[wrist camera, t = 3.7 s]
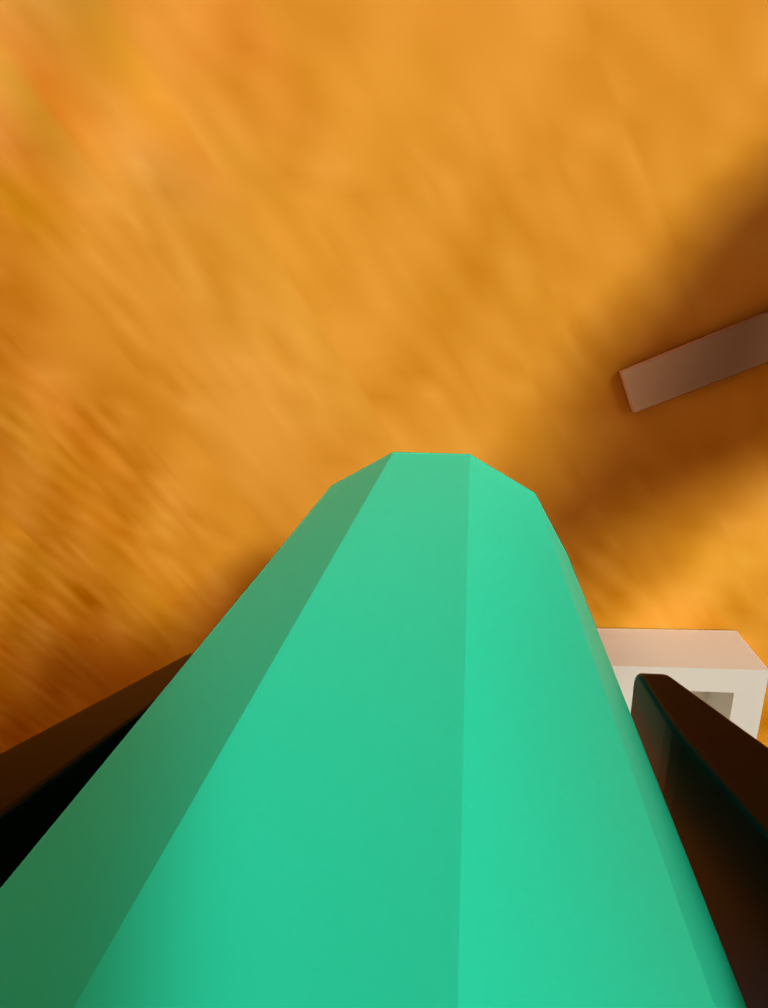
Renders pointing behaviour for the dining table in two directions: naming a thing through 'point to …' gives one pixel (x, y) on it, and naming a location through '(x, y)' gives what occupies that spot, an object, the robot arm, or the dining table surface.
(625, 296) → the dining table surface
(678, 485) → the dining table surface
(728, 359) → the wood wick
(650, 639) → the white square tray
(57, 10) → the dining table surface
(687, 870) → the candle
